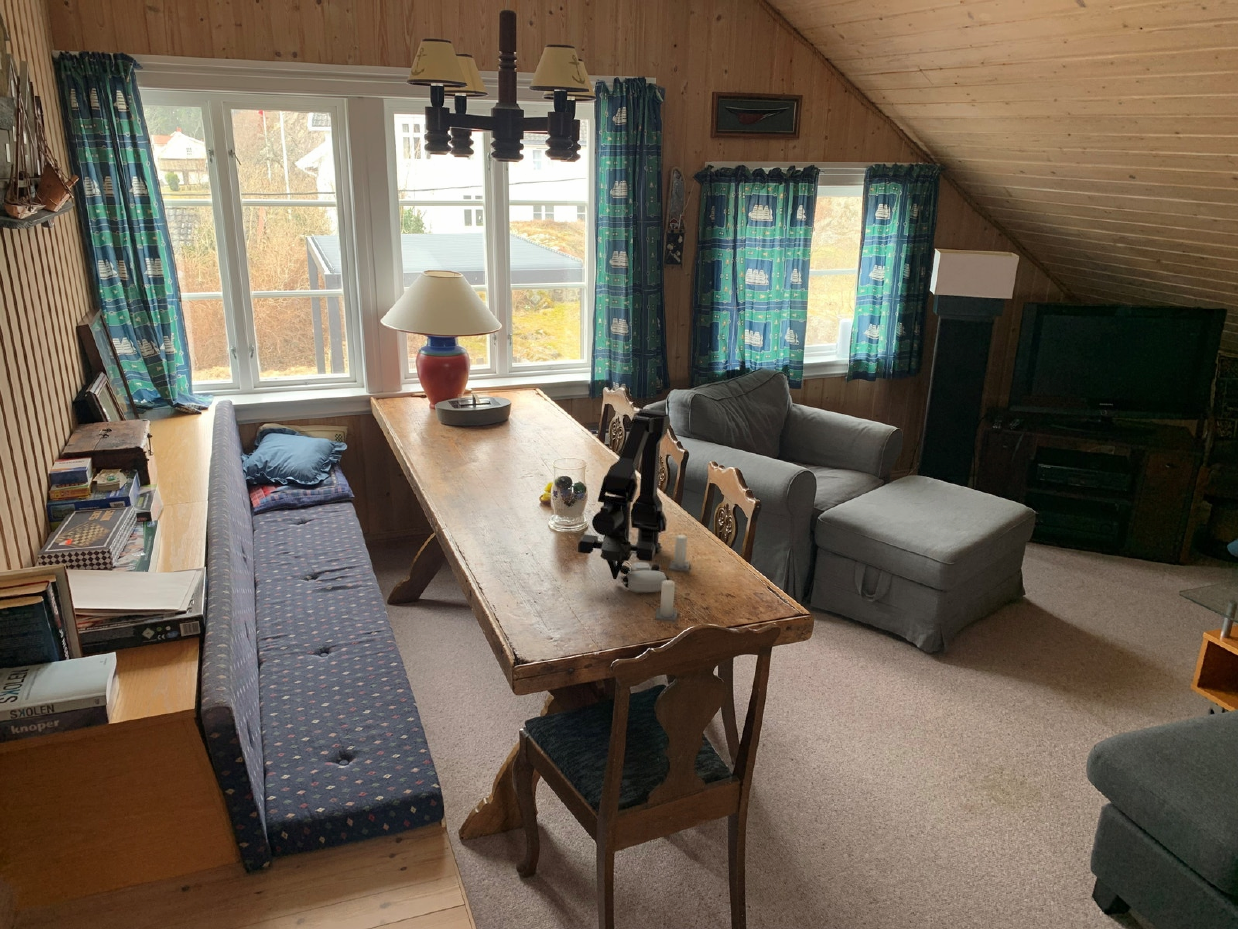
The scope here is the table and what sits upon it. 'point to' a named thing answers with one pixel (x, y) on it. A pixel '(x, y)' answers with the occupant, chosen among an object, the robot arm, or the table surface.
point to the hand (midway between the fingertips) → (615, 578)
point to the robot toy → (643, 577)
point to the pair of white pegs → (668, 586)
